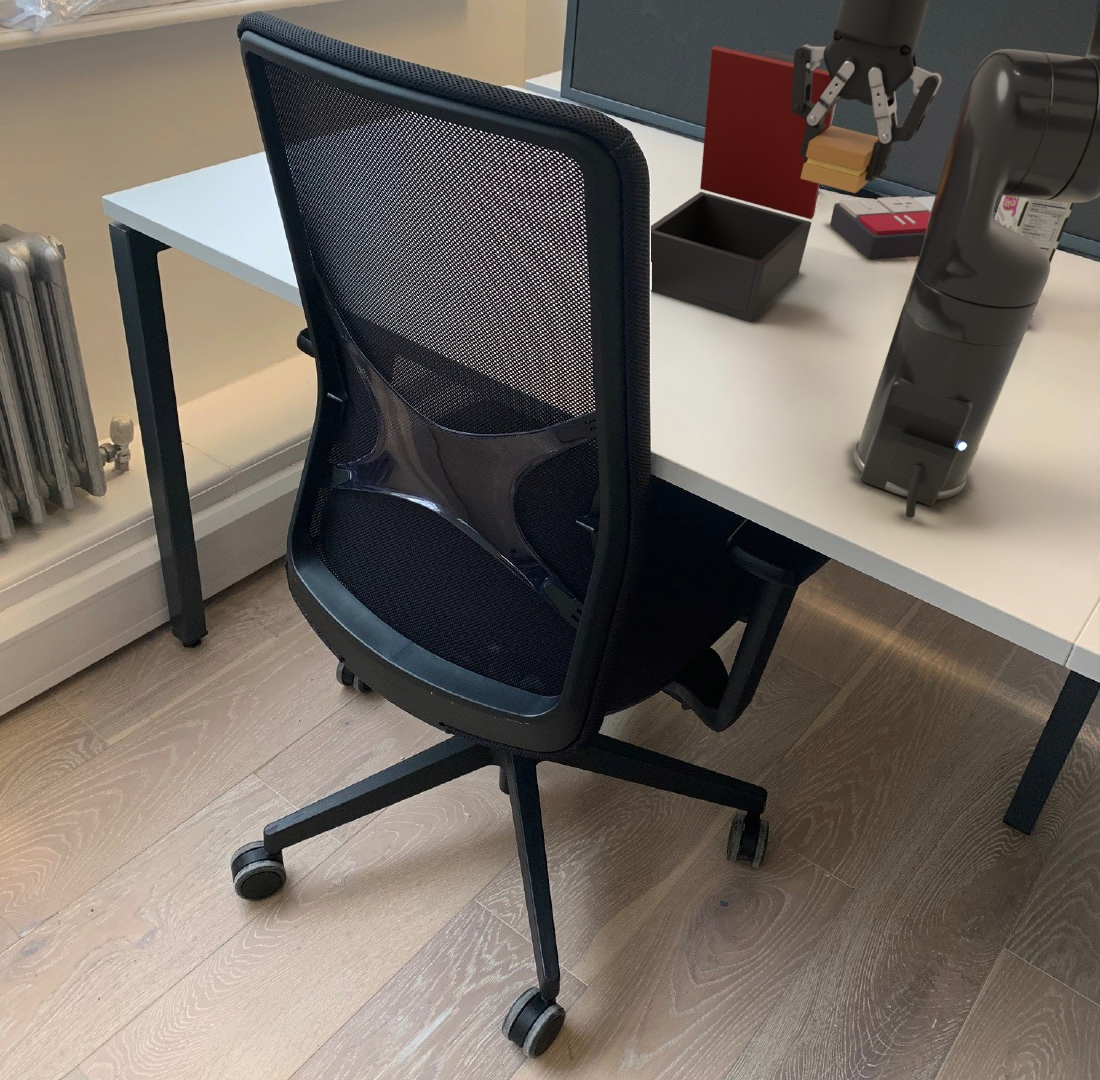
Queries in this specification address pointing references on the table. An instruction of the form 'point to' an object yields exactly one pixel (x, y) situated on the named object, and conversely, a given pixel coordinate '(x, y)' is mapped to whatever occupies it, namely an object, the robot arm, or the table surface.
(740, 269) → the open black box
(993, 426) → the table surface
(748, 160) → the box lid
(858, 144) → the sandwich
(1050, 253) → the candy bar box
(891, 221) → the calculator
